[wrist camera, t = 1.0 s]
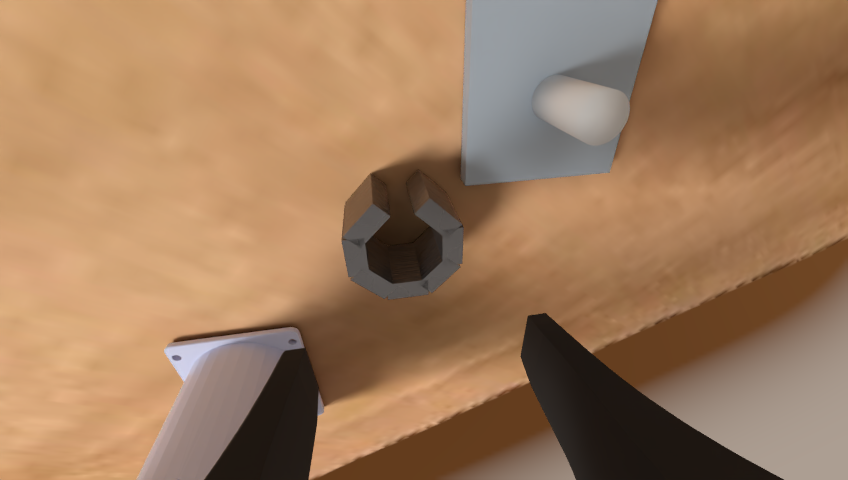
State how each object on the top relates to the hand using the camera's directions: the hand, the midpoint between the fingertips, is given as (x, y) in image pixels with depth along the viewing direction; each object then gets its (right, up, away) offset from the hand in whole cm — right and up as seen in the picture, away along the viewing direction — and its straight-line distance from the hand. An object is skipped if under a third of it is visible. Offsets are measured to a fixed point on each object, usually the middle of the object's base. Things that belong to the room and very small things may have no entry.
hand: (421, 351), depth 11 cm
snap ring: (-1, +5, +8) cm, 9 cm away
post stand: (+6, +11, +5) cm, 13 cm away
